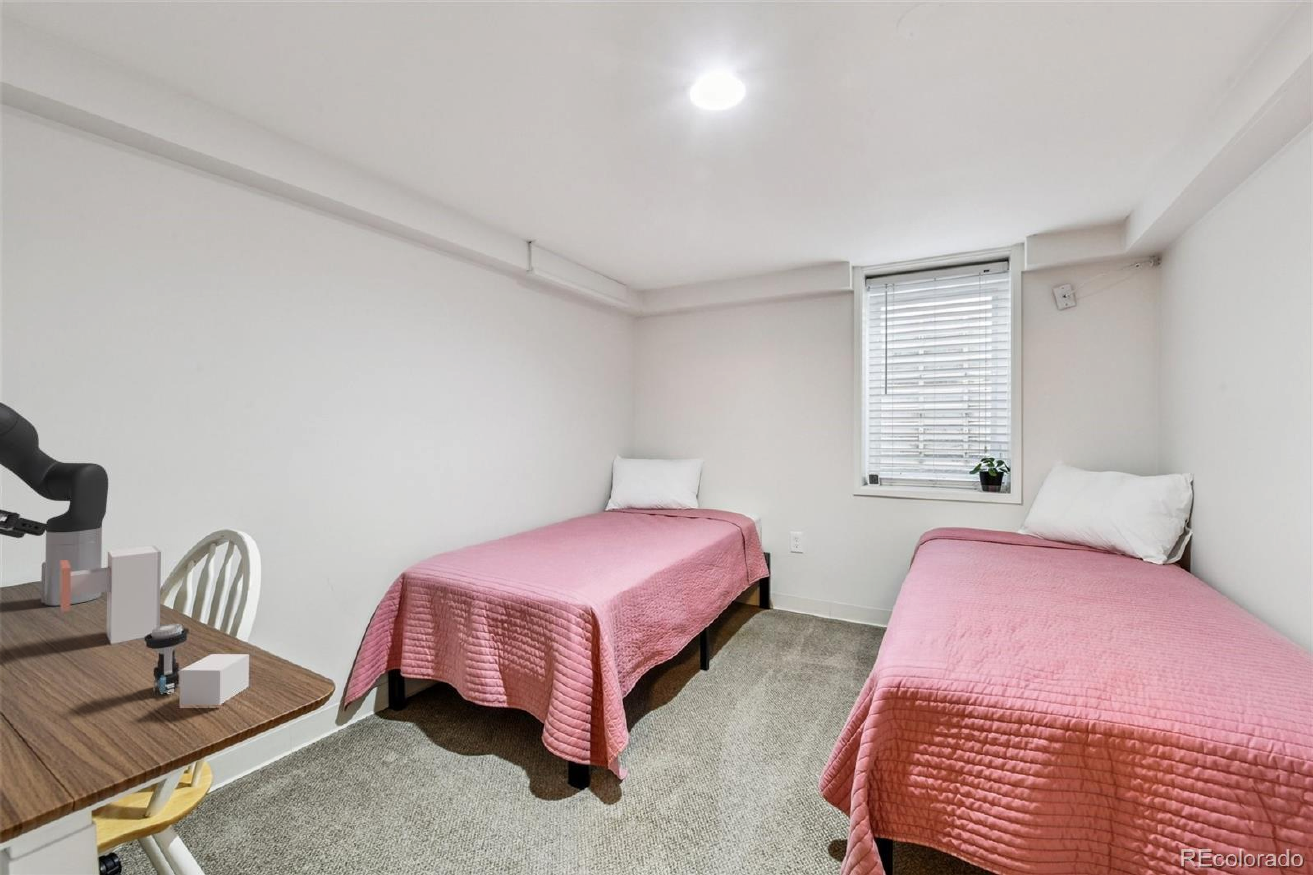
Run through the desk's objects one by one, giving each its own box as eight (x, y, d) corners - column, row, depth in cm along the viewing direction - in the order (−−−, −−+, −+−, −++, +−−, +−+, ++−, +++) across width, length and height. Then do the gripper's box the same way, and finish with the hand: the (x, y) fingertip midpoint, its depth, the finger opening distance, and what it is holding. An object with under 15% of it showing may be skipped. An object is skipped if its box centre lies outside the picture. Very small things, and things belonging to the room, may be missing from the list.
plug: (62, 611, 99) (62, 568, 99) (59, 601, 105) (59, 560, 105) (119, 602, 105) (119, 561, 105) (113, 593, 110) (114, 554, 110)
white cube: (219, 710, 81) (220, 670, 81) (179, 709, 81) (179, 670, 81) (248, 690, 87) (249, 654, 87) (211, 690, 87) (211, 653, 87)
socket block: (110, 644, 104) (112, 557, 104) (106, 633, 109) (107, 550, 109) (159, 634, 110) (161, 551, 109) (153, 624, 115) (154, 545, 115)
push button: (192, 691, 86) (193, 629, 86) (147, 703, 82) (148, 638, 82) (184, 678, 91) (185, 619, 91) (141, 689, 87) (142, 627, 87)
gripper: (-71, 473, 83) (64, 509, 96) (-100, 481, 89) (31, 514, 101) (-107, 519, 79) (38, 550, 92) (-135, 524, 85) (5, 553, 98)
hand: (34, 531), depth 97 cm, fingers open, 8 cm apart
